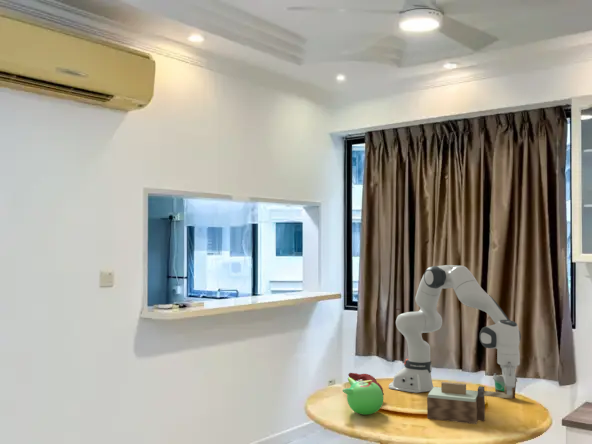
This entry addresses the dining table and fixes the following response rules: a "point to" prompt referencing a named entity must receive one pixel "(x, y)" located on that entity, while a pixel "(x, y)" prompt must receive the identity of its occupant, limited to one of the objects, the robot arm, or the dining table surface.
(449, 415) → the toolbox
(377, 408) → the toy bird
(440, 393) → the toolbox lid
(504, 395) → the wooden key
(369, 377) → the red toy dinosaur
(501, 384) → the food container
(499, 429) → the dining table surface
